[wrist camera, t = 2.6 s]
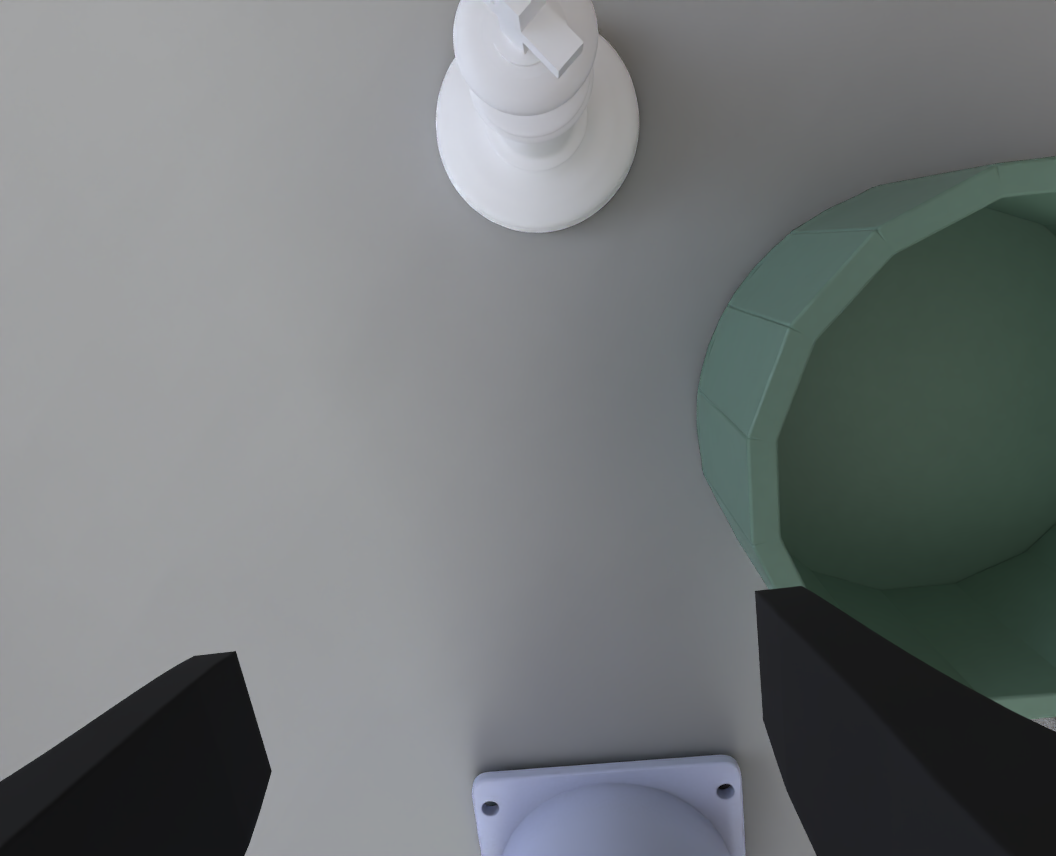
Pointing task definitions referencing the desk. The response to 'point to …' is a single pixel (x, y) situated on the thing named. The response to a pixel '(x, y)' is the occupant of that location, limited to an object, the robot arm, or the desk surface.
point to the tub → (905, 420)
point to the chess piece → (535, 113)
